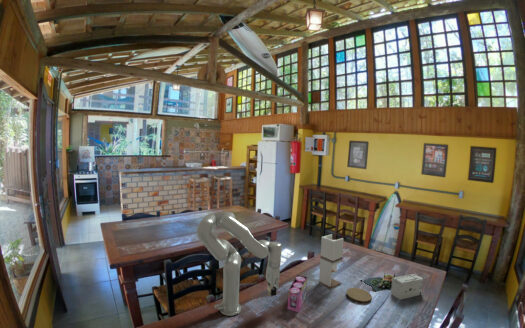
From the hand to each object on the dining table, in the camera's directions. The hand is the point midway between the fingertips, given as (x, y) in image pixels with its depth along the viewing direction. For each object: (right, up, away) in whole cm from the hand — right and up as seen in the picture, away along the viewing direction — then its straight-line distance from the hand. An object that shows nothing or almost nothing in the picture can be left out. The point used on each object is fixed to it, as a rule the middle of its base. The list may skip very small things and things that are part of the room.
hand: (271, 292), depth 161 cm
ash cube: (0, 0, 0) cm, 0 cm away
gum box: (+17, -12, +11) cm, 23 cm away
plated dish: (+86, -13, +39) cm, 95 cm away
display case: (+43, -11, +35) cm, 57 cm away
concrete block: (+93, -14, +24) cm, 97 cm away
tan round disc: (+59, -13, +19) cm, 63 cm away
